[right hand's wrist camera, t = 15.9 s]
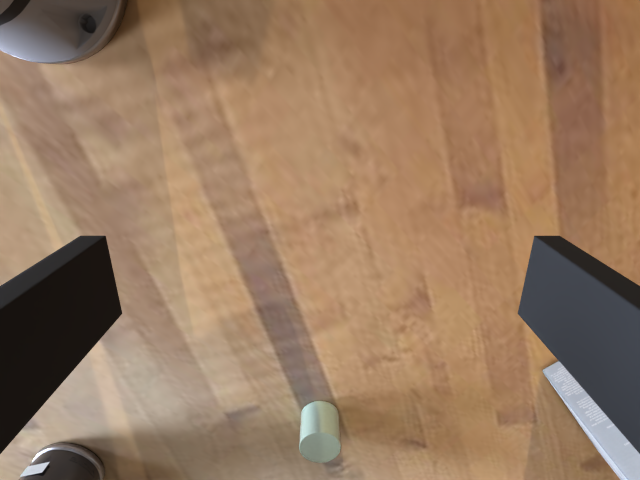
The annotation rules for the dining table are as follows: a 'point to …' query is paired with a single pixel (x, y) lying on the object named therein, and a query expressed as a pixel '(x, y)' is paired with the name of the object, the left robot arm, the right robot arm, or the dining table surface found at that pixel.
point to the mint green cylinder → (319, 432)
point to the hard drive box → (595, 424)
